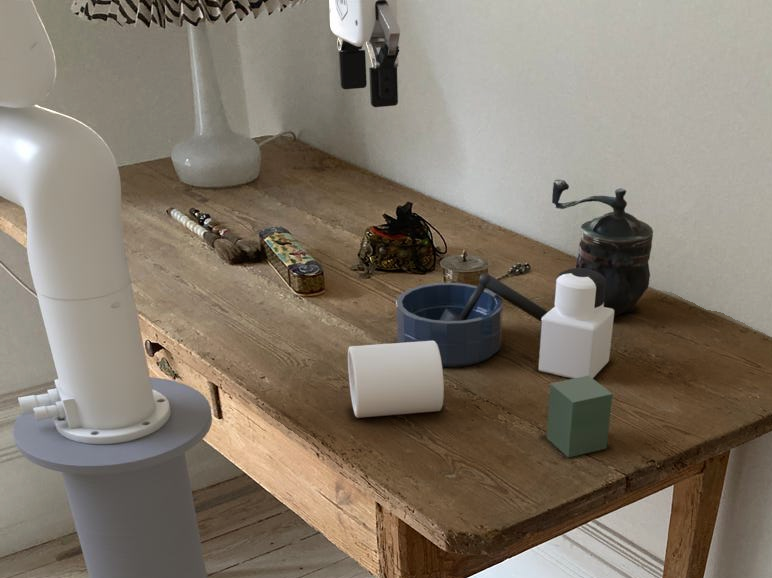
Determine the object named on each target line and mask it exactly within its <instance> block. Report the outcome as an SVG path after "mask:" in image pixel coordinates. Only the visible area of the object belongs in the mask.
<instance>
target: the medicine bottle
mask: <svg viewBox="0 0 772 578" xmlns="http://www.w3.org/2000/svg"><path fill="white" fill-rule="evenodd" d="M605 288H606V279H605V277H604V276H603V275H602V274H600V273H598V272H596V271H594V270H591V269H586V268H574V267H573V268H568V269H566V270H563V271H561V272H560V273H559V274H558V275H557V276H556V280H555V291H554V293H555V294H554V306H553V307H552V308H551V309H550V310H549V311H548V313H547V314H545V315H544V316H543V317H542V319H541V321H540V333H539V334H540V335H539V349H538V366H537V369H538V371H539V372H541V373H546V374H551V375H555V376H560V377H564V378H569V379H574V378H579V377H584V376H590V377H591V378H593V379H594V378H595V377H596V376H597V374H599V372H600V371H601V370H602V369H603V368H604V367H605V366H606V365H607V364H608V363H609V361H610V354H611V345H612V337H613V327H614V319H615V318H614V310H613V309H611V308H606V307H604V297H605Z"/></svg>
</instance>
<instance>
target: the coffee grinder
mask: <svg viewBox="0 0 772 578" xmlns="http://www.w3.org/2000/svg"><path fill="white" fill-rule="evenodd" d="M569 188H570V185H569V184H568V183H567V182H566V181H565V179H564V180H563V179H555V180H554V182H553V183H552V197H551V203H552V204H554V205H555V208H556V209H560V210H565V209H567V208H572V207H575V206H577V205H579V204H583V203H587V202H588V203H590V202H599V203H602V204H605V205H607V206H609V207H610V208H612V210H613V211H610V212H607V213H604V214H603V215H601V216H600V215H599V216H597V217H593V218H590V219H589V220H587V221H584V222H583V223H582V224H580V229H581V231H580V240H579V241H580V242H579V244H578V252H577V253H578V254H577V258H576V261H575V264H574V267H573V268H586V269H591V270H594V271H596V272H598V273H600V274H602V275H603V276H604V277H605V279H606V288H605V297H604V307H606V308H611V309H613V310H614V319H615V318H616V317H617V316H619V315H620V314H623V313H627V314H629V313H632V312H635V307H636V305H637V303H638V301H639V300H640V299H641V298H642V297H643V295H644V294H645V292H646V291H647V289H648V288H649V286H650V278H651V271H650V265H649V261H650V257H651V252H652V247H653V245H652V244H653V237H654V229H653V228H652V226H650V225H649V224H648V223H646V222H644V221H642V220H639V219H638V218H637V217H635V216H634V215H632V214H630V213H628V212H626V211H625V210H626V207H627V206H628V202H627V201H626V199H625V198H624V197H625V196H626V193H627V190H626V189H625V188H622V187H620V188H617V189H615V190H614V195H615V196H608V195H591V196H587V197H580V198H577V199H574V200H572V201H566V202H559V201H560V198H561V196H562V194H563V192H565V191H567V190H569Z"/></svg>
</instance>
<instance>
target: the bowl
mask: <svg viewBox="0 0 772 578" xmlns="http://www.w3.org/2000/svg"><path fill="white" fill-rule="evenodd" d="M477 286H478V285H474V284H469V283H463V282H462V283H461V282H435V283H428V284H427V283H426V284H422V285H417V286H415V287H411V288H408V289H407V290H405V291H403V292H402V293H400V294H399V295H398V297H397V298H396V300H395V317H396V318H395V321H396V343H406V342H420V341H435V342H436V343H437V345H438V348H439V352H440V356H441V362H442V367H443V368H446V367H447V368H454V367H465V366H472V365H476V364H480V363H482V362H484V361H486V360H488V359H490V358H491V357H492V356H493V355H494V354H496V353H497V352H498V351H499V350H500V349H501V345H502V340H503V338H502V337H503V334H502V333H503V312H504V311H503V310H504V309H503V308H504V303H503V301H502V297H500V296H499V295H497V294H495V293H494V292H492V291H490V290H489V289H487V288H485V289H484V291H483V293H482V294H481V296H480V298H479V299H478V301H477V303H476V304H475V306H474V308H473V309H472V311H471V313H470V315H469V316H468V318H467V320H463V321H440V320H439V319H440V318H441V316H442V314H443V313H444V311H445V309H446V308H447V309H449V310H451V311H453V312H455V313H457V314H458V315H460V314H461V313H462V311H463V309H464V308H465V306H466V304H467V303H468V301H469V299H470V298H471V296H472V294H473V293H474V291H475V289H476V287H477Z"/></svg>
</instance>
